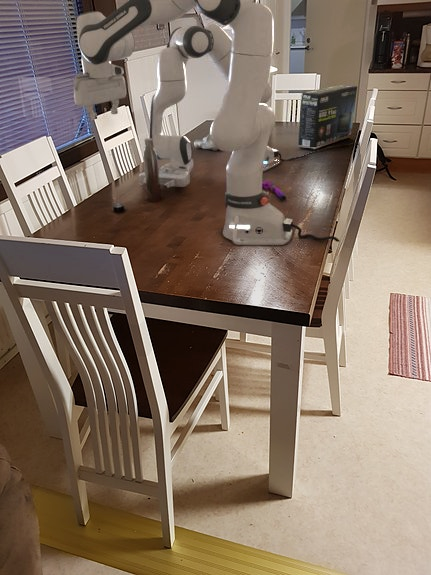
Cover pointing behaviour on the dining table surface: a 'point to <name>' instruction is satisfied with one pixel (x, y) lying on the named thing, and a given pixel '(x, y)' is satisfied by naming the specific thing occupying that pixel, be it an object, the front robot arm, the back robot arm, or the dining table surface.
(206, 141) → the fossil
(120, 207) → the cap
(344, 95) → the router box
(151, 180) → the bottle
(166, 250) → the dining table surface
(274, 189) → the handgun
